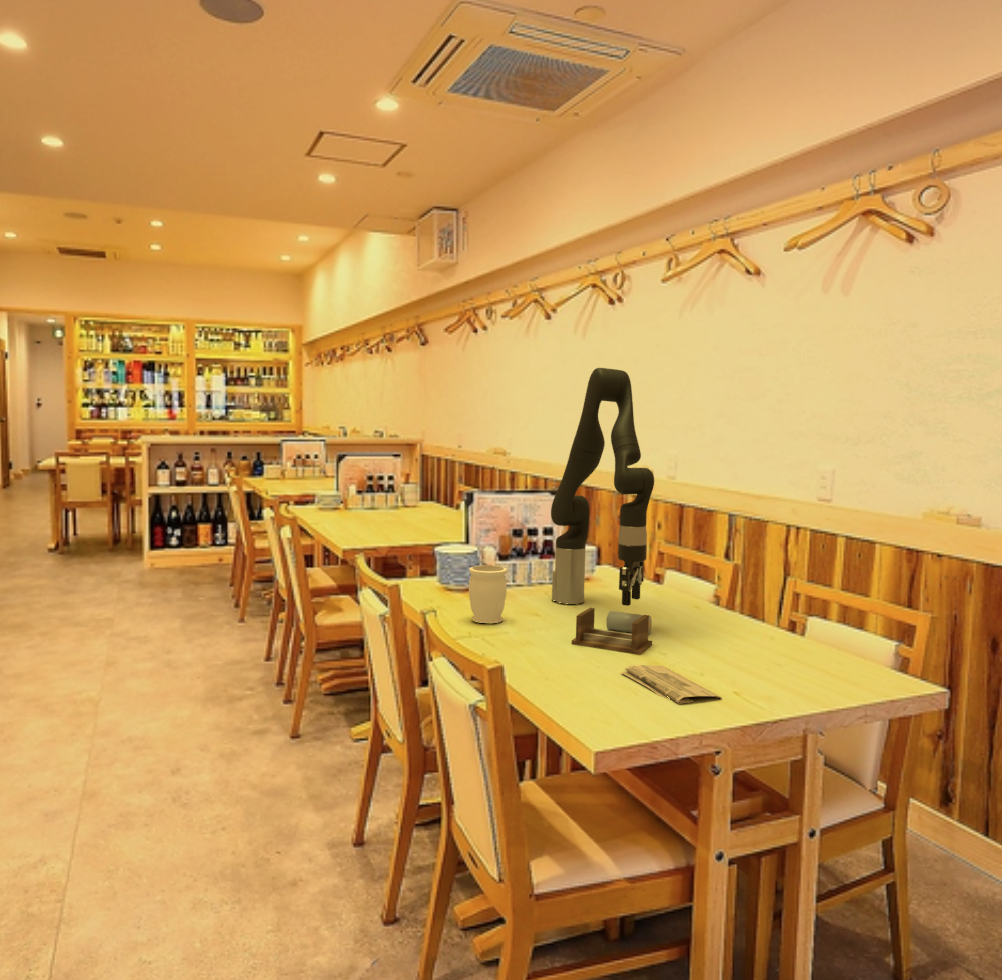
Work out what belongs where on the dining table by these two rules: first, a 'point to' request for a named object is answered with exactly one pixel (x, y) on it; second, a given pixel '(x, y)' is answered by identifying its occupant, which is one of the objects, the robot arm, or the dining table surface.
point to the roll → (623, 621)
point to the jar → (487, 593)
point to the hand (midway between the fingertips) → (631, 602)
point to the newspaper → (667, 683)
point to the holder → (611, 635)
